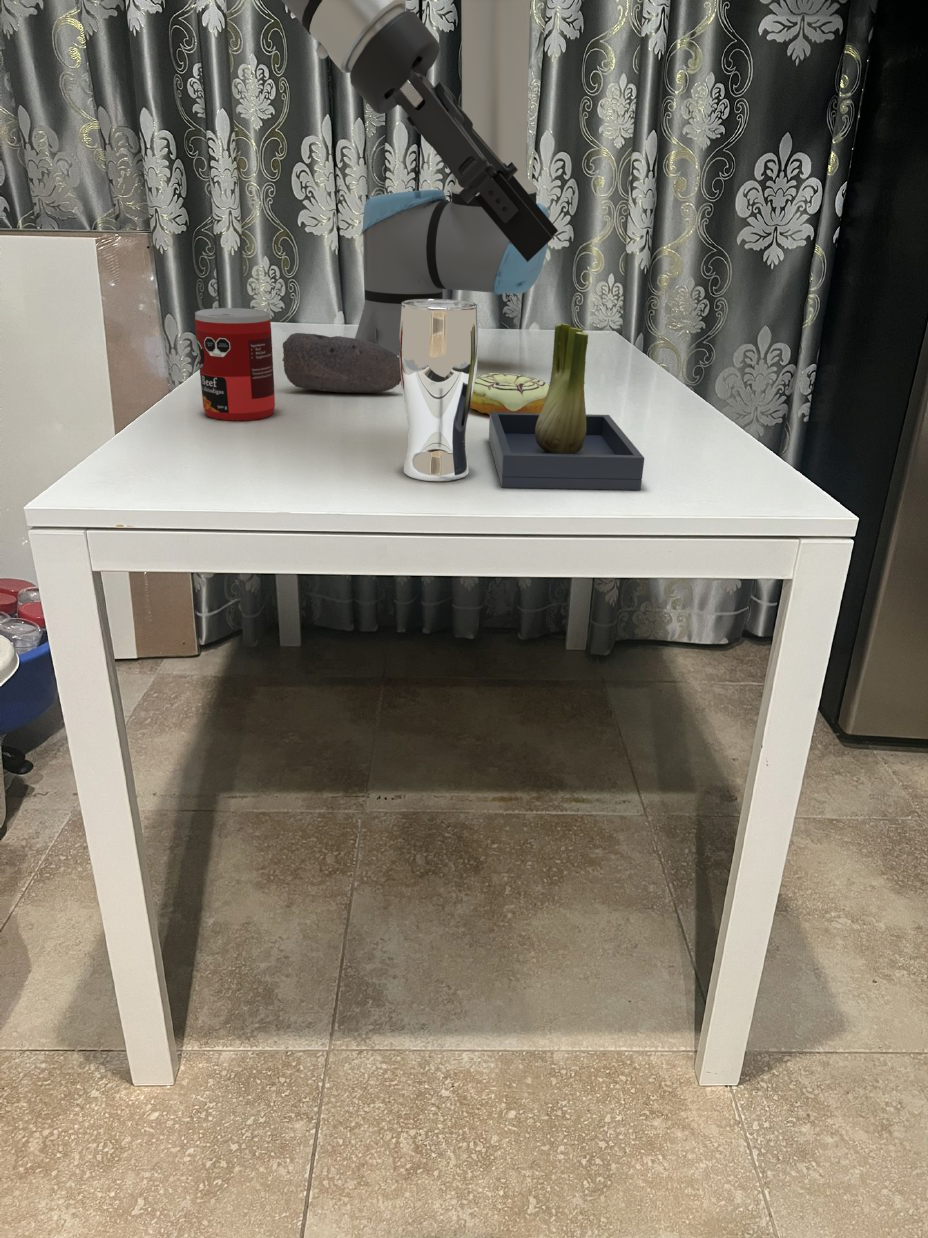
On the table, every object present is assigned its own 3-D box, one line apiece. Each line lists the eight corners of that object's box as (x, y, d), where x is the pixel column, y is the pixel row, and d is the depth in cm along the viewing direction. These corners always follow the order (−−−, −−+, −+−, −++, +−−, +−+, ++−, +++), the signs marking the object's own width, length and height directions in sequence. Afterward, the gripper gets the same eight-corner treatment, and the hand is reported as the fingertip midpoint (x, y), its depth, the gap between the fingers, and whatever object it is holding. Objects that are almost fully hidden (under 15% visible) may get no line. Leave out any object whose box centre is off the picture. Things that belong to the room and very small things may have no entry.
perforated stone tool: (407, 391, 117) (407, 335, 114) (400, 399, 112) (400, 341, 109) (293, 384, 118) (291, 329, 115) (282, 392, 114) (278, 335, 111)
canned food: (198, 408, 105) (189, 308, 100) (267, 404, 108) (261, 307, 103) (209, 423, 98) (200, 317, 94) (282, 418, 101) (277, 316, 97)
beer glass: (414, 486, 80) (415, 309, 74) (388, 465, 86) (387, 298, 80) (485, 479, 83) (493, 307, 76) (455, 459, 89) (460, 297, 82)
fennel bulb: (583, 462, 86) (595, 330, 80) (531, 458, 86) (540, 327, 81) (584, 446, 91) (596, 321, 86) (535, 443, 91) (544, 318, 86)
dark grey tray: (488, 440, 96) (489, 411, 94) (606, 442, 96) (609, 414, 95) (501, 487, 81) (503, 454, 80) (640, 490, 82) (644, 457, 80)
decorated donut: (522, 424, 103) (524, 391, 101) (445, 409, 108) (446, 377, 106) (567, 409, 110) (569, 377, 109) (493, 396, 116) (495, 366, 114)
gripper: (378, 92, 88) (522, 264, 93) (305, 60, 66) (500, 289, 71) (433, 29, 85) (578, 210, 90) (376, -27, 63) (574, 218, 68)
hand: (544, 245), depth 81 cm, fingers open, 13 cm apart
